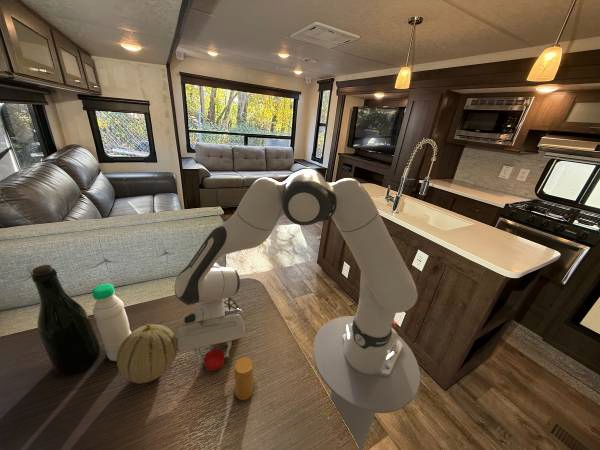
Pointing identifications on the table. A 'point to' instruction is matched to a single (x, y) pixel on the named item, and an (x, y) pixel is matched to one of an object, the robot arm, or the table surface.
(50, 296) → the dark green glass bottle
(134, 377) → the cantaloupe
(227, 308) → the food container
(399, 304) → the robot arm
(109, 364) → the table surface
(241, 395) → the orange cylinder
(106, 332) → the white milk bottle
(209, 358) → the lid
